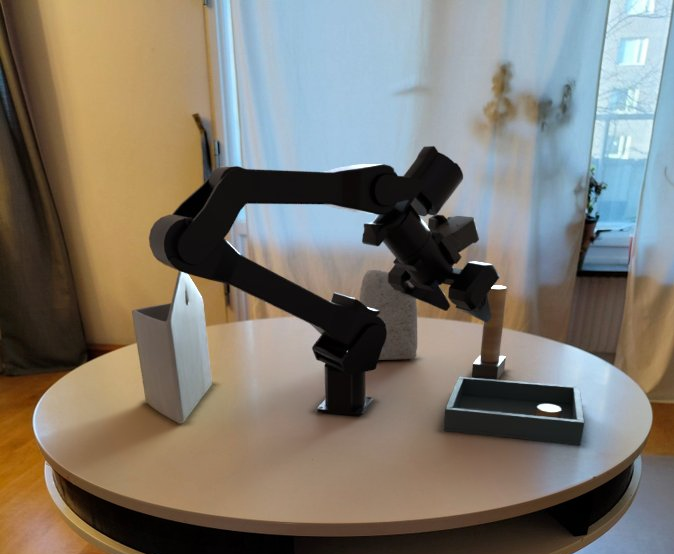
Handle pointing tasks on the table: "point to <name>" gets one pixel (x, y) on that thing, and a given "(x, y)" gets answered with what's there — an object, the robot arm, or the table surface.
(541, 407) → the orange brown short cylinder
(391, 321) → the decorative stone
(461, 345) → the table surface
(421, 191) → the robot arm
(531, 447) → the table surface
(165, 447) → the table surface
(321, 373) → the table surface
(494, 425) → the tray
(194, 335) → the planter
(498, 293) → the brush
